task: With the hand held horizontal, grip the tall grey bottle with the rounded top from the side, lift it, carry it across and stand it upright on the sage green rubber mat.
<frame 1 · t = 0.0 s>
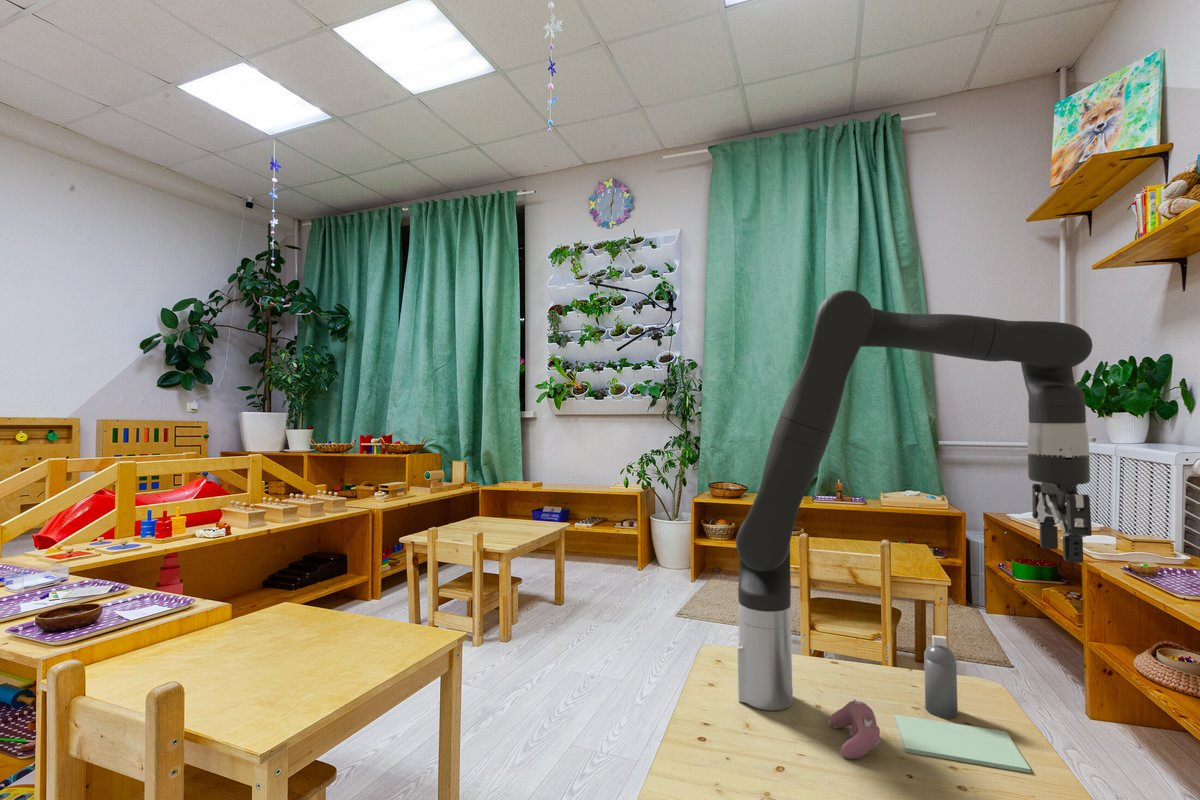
hand: (1060, 555, 88), 29 cm above the table, tool pointing down, fingers open, 8 cm apart
video game controller: (854, 745, 88), on the table
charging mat: (956, 743, 87), on the table
grey bottle: (941, 711, 97), on the table
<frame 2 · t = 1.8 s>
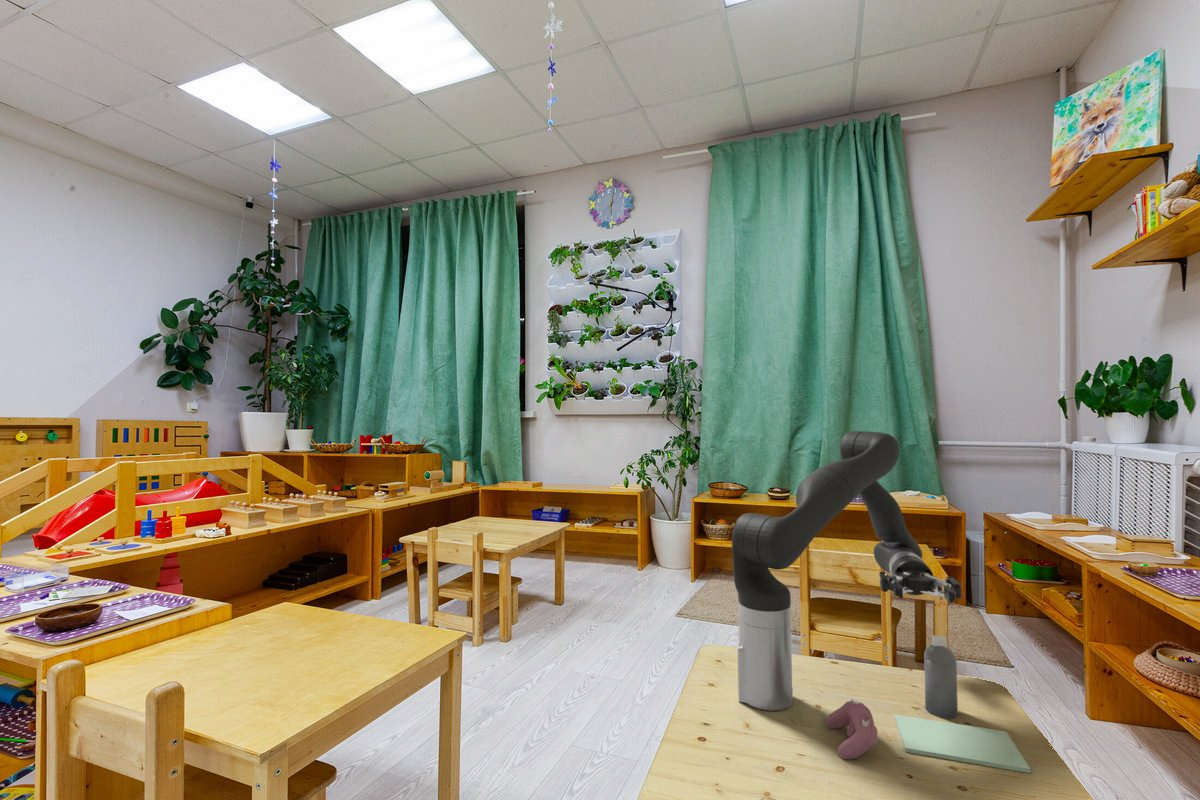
hand: (925, 595, 108), 16 cm above the table, tool horizontal, fingers open, 8 cm apart
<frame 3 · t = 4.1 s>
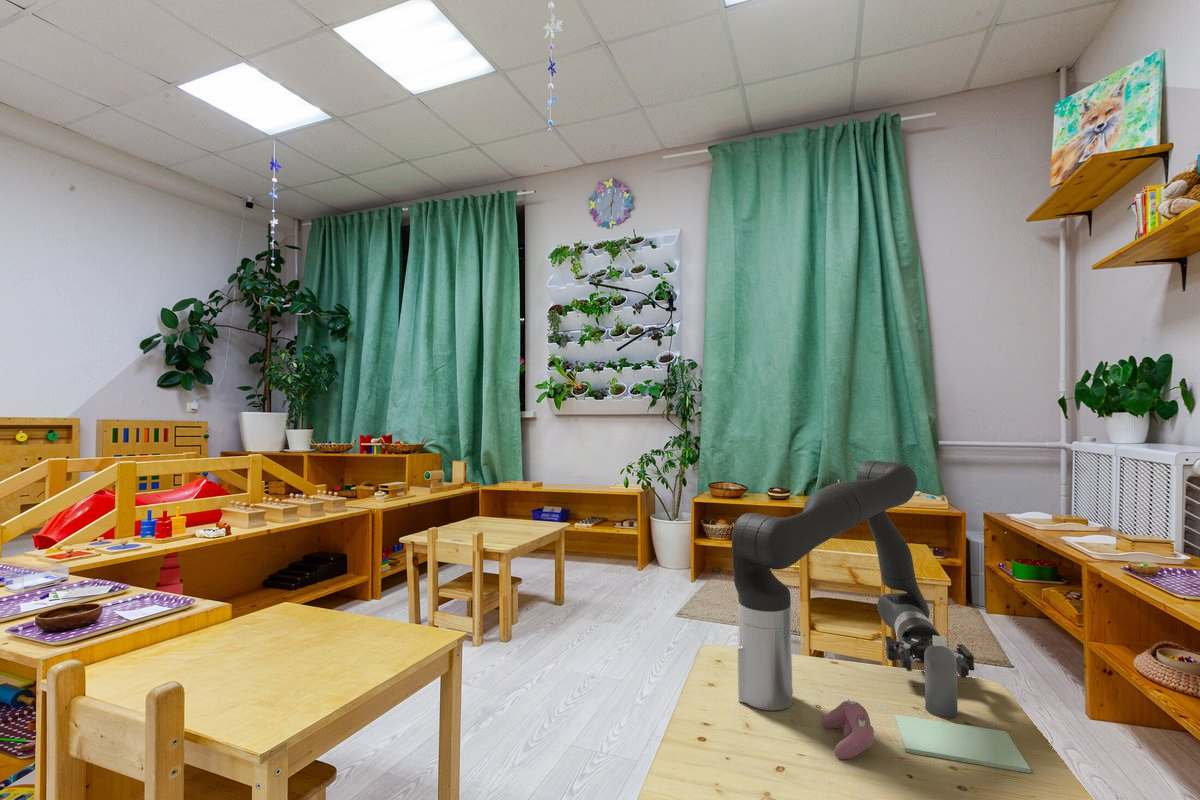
hand: (936, 669, 100), 6 cm above the table, tool horizontal, fingers open, 8 cm apart
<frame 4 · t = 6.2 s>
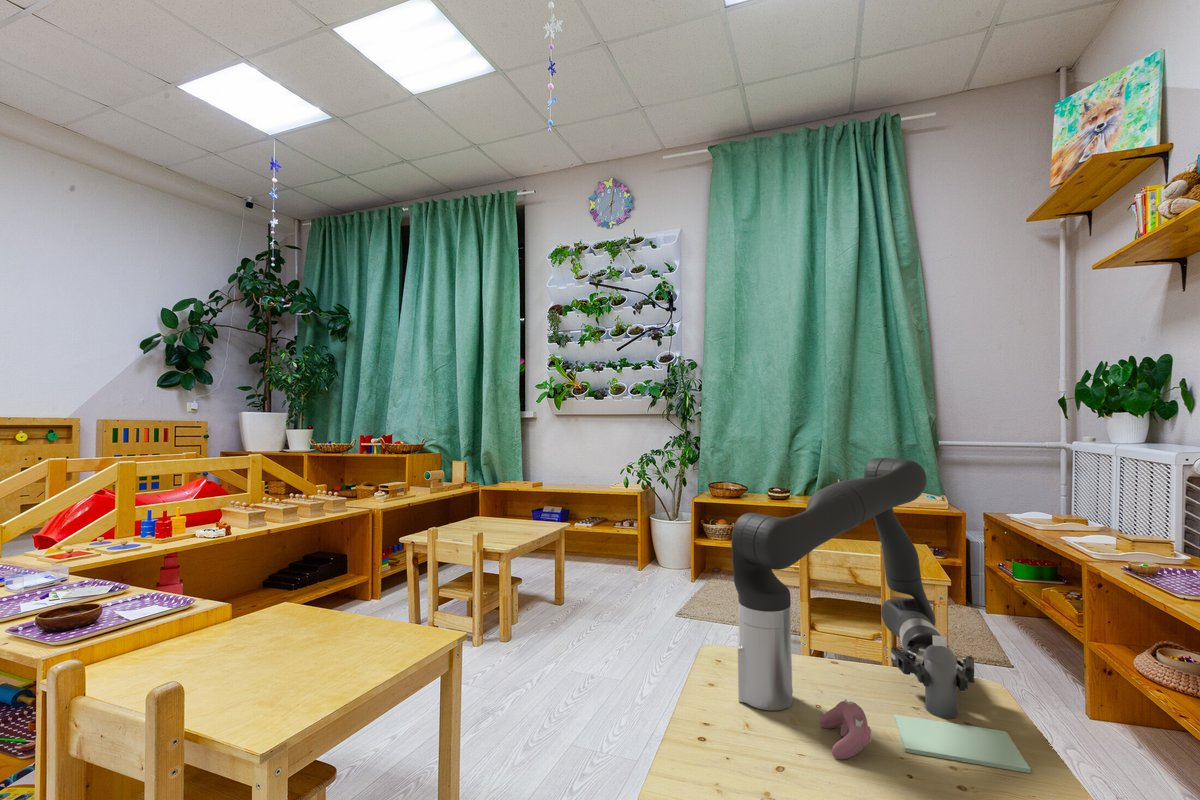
hand: (944, 683, 94), 6 cm above the table, tool horizontal, fingers closed on grey bottle, 4 cm apart
grey bottle: (941, 711, 97), on the table, touching gripper
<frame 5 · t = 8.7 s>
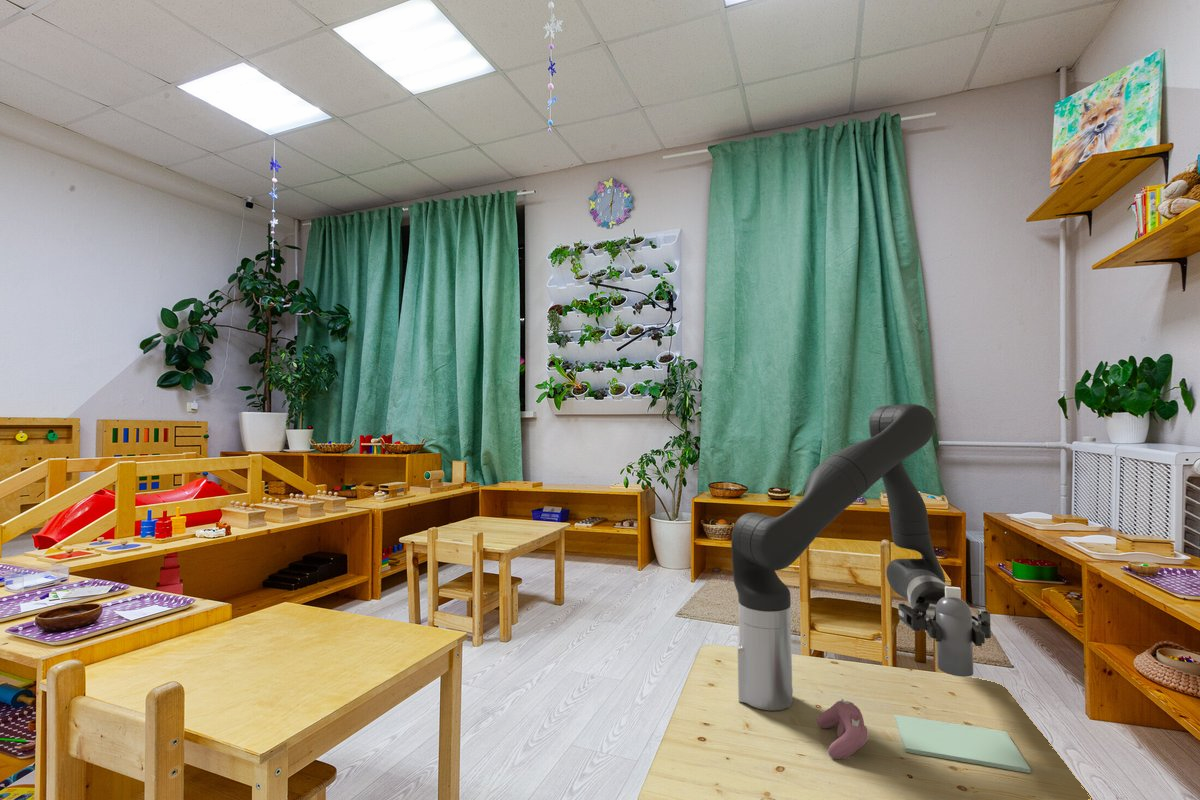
hand: (958, 637, 85), 17 cm above the table, tool horizontal, fingers closed on grey bottle, 4 cm apart
grey bottle: (955, 669, 88), point 11 cm above the table, touching gripper
when the fingers open (7 cm above the table, at t = 11.2 s): grey bottle stays where it is, resting on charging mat.
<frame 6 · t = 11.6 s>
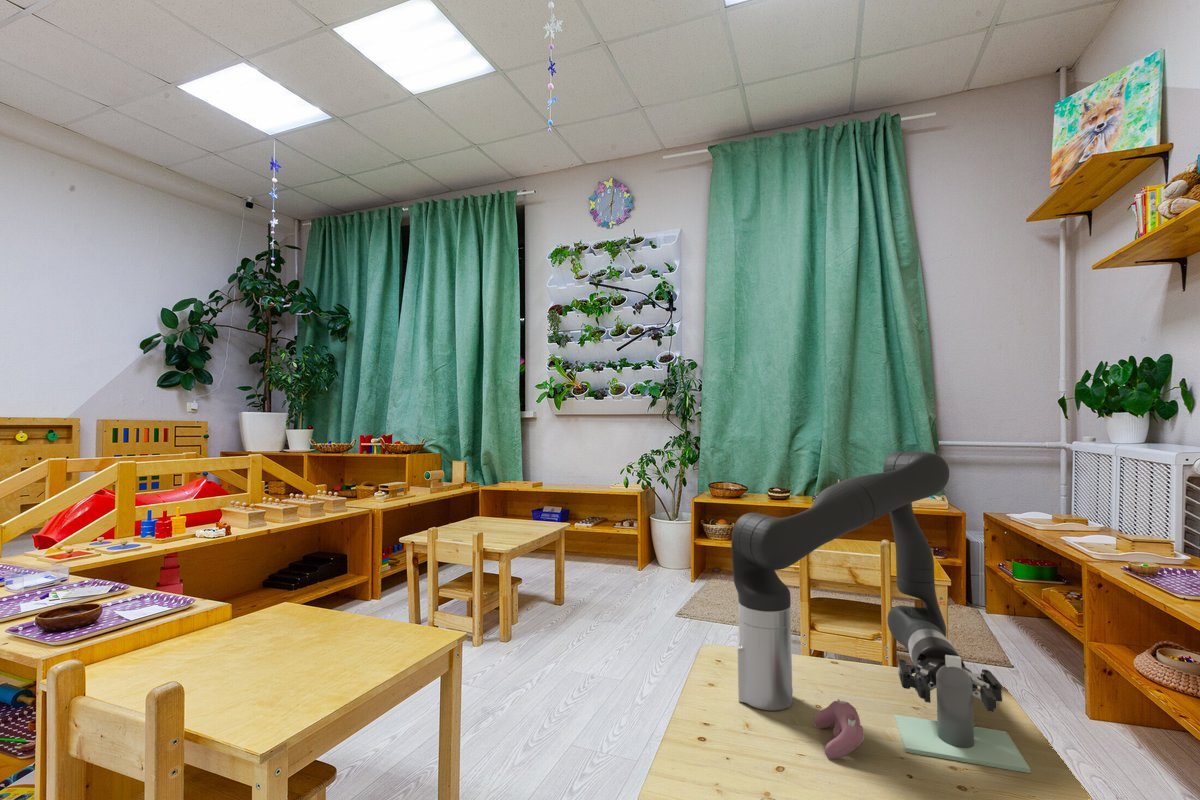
hand: (959, 700, 86), 8 cm above the table, tool horizontal, fingers open, 8 cm apart
grey bottle: (955, 738, 87), point 1 cm above the table, touching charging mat
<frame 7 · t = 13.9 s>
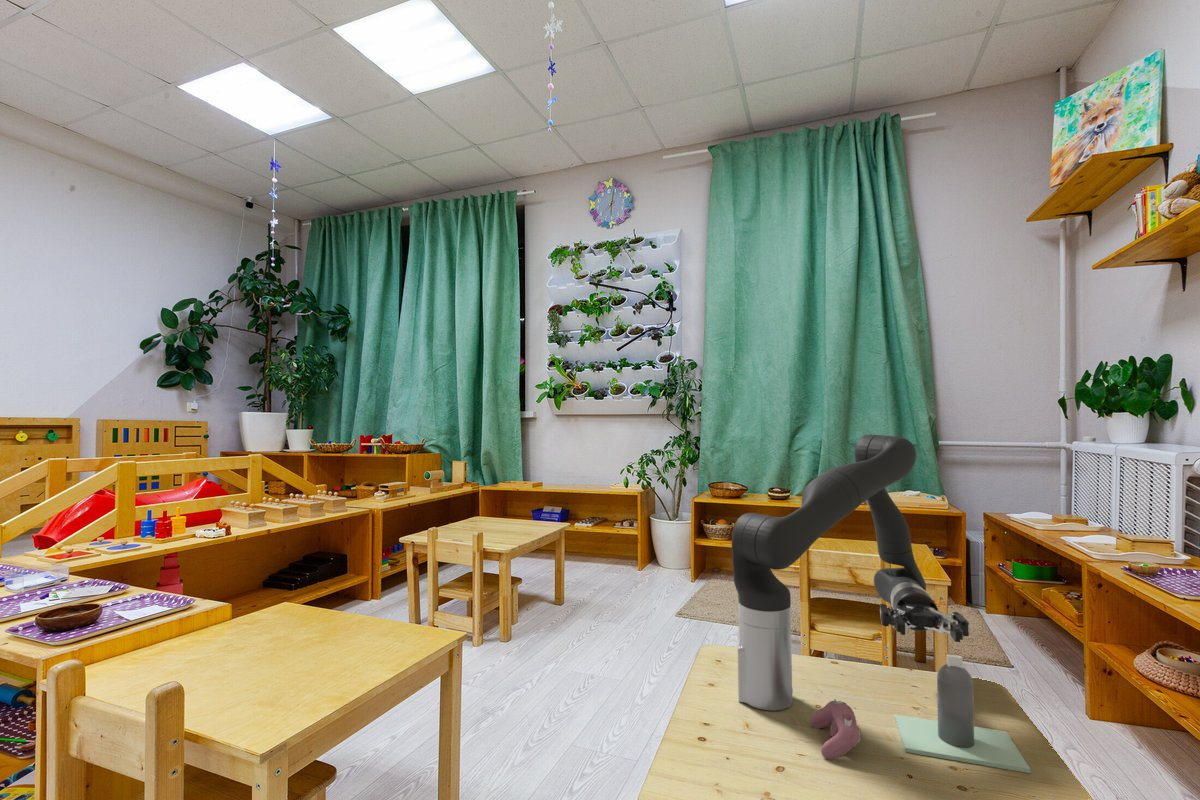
hand: (930, 632, 99), 13 cm above the table, tool horizontal, fingers open, 8 cm apart
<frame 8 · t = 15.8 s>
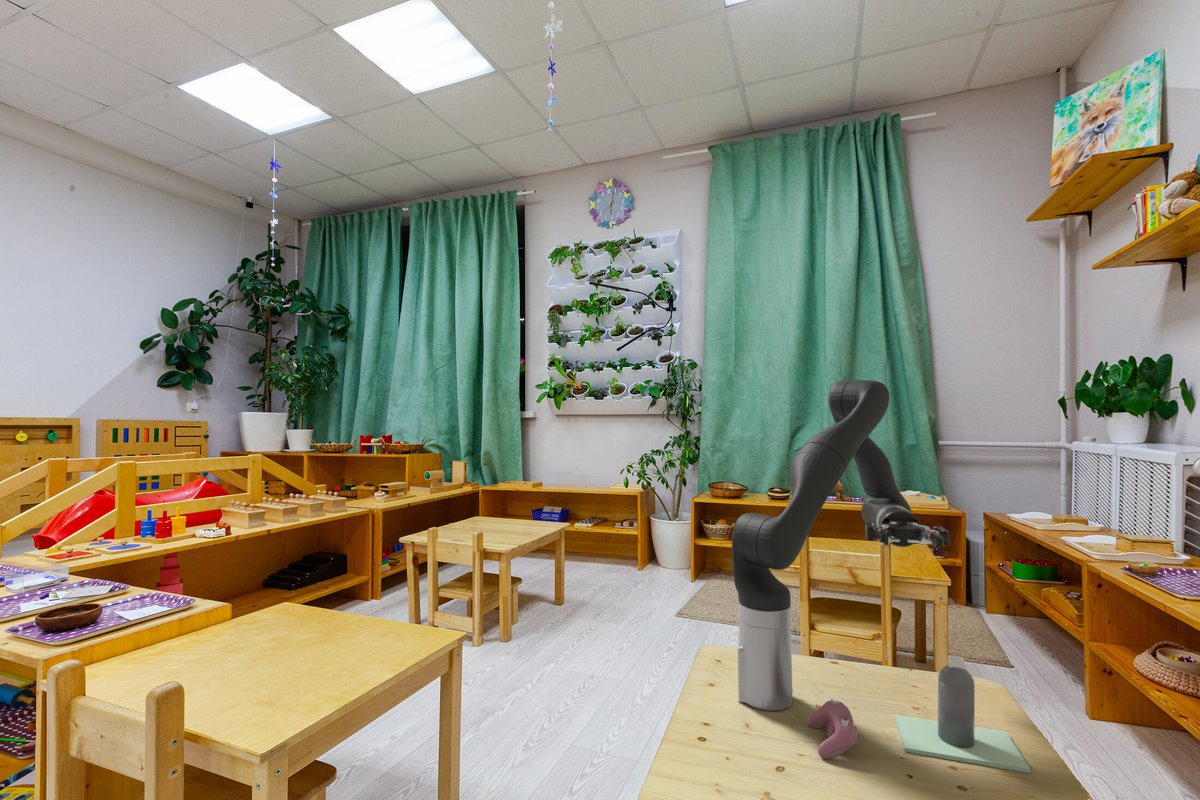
hand: (912, 541, 103), 28 cm above the table, tool horizontal, fingers open, 8 cm apart
at the end: grey bottle inside the target area on the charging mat (0.1 cm from its centre), point 0.7 cm above the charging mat's base; grey bottle tilted 2°; the gripper is holding nothing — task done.
